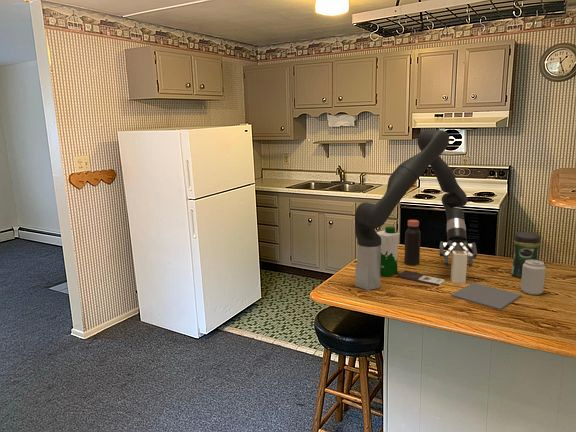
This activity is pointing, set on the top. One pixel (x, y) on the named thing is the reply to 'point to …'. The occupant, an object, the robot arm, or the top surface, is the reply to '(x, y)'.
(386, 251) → the milk carton
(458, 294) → the rubber mat
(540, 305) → the top surface
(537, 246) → the coffee jar
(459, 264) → the cream block
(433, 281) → the chocolate bar
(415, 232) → the bottle
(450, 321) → the top surface
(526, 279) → the can
